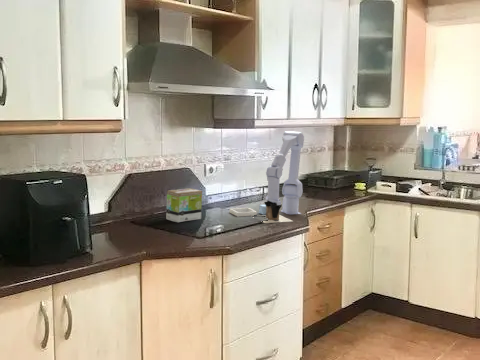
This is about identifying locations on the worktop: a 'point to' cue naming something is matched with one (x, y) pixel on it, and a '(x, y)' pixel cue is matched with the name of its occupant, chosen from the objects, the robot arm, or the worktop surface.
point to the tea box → (183, 205)
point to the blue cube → (262, 209)
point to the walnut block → (270, 213)
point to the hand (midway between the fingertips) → (272, 216)
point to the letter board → (281, 219)
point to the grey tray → (243, 212)
